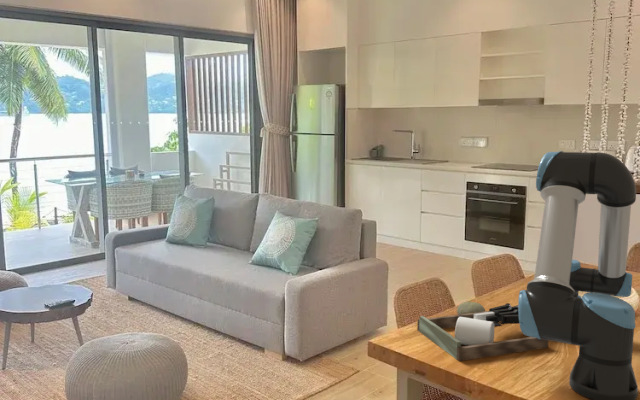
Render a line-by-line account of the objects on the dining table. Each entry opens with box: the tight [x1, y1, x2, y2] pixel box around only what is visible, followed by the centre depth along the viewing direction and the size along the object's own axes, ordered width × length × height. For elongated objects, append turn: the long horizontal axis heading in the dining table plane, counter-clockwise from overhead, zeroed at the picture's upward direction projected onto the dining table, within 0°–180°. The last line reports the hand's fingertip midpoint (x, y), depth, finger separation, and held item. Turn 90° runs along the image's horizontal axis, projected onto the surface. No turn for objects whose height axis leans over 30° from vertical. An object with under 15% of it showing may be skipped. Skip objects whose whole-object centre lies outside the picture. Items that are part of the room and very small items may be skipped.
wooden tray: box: [416, 310, 549, 362], centre depth 172 cm, size 30×24×5 cm
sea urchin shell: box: [456, 301, 486, 315], centre depth 191 cm, size 9×8×8 cm
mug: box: [454, 317, 495, 346], centre depth 168 cm, size 12×10×8 cm
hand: (475, 318), depth 170 cm, fingers closed
